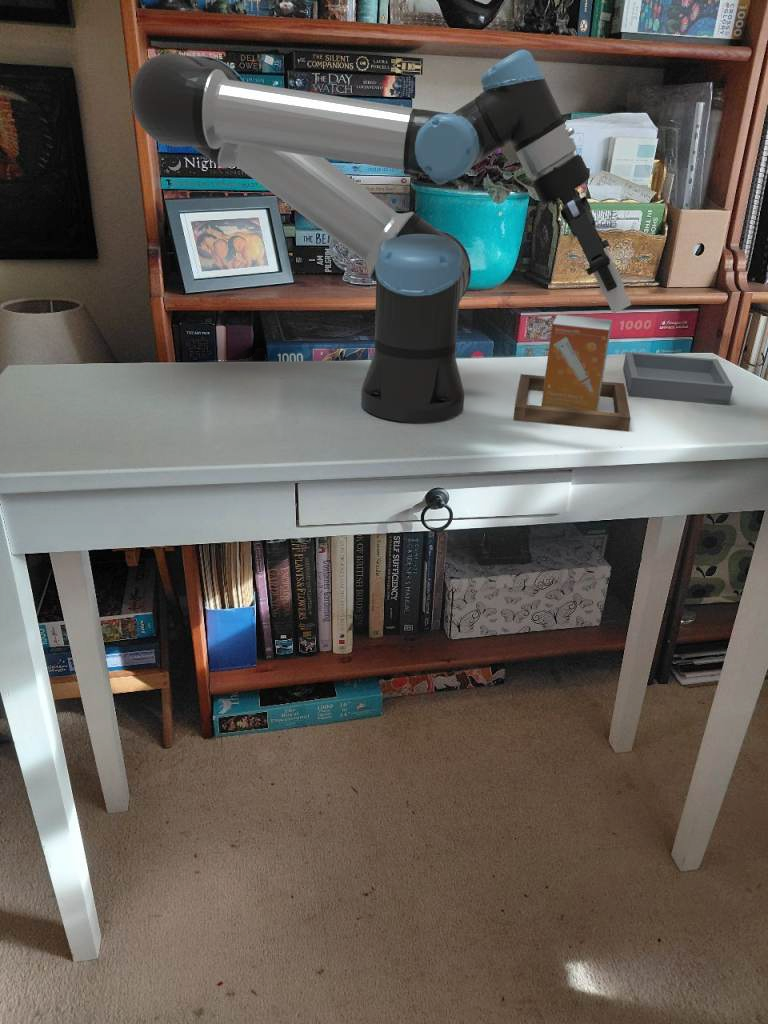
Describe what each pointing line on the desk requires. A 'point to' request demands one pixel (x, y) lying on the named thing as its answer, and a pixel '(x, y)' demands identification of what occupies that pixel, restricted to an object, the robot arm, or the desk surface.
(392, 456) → the desk surface
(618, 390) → the walnut frame
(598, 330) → the small box
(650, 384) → the slate tray
